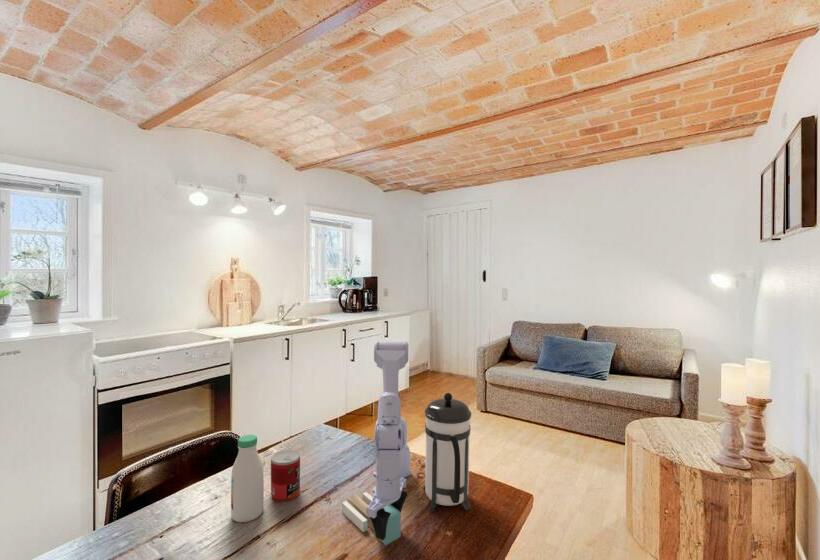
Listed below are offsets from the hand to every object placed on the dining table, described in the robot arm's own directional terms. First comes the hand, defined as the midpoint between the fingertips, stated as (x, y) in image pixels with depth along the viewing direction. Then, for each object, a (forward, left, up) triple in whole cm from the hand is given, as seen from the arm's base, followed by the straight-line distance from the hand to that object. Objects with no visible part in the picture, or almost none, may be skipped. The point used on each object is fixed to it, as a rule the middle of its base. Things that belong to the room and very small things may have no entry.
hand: (387, 529), depth 92 cm
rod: (0, -9, -2) cm, 9 cm away
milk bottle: (+23, -30, -2) cm, 38 cm away
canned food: (+12, -32, -2) cm, 34 cm away
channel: (0, -10, -1) cm, 10 cm away
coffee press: (-21, 0, -2) cm, 21 cm away
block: (0, 0, -1) cm, 1 cm away
